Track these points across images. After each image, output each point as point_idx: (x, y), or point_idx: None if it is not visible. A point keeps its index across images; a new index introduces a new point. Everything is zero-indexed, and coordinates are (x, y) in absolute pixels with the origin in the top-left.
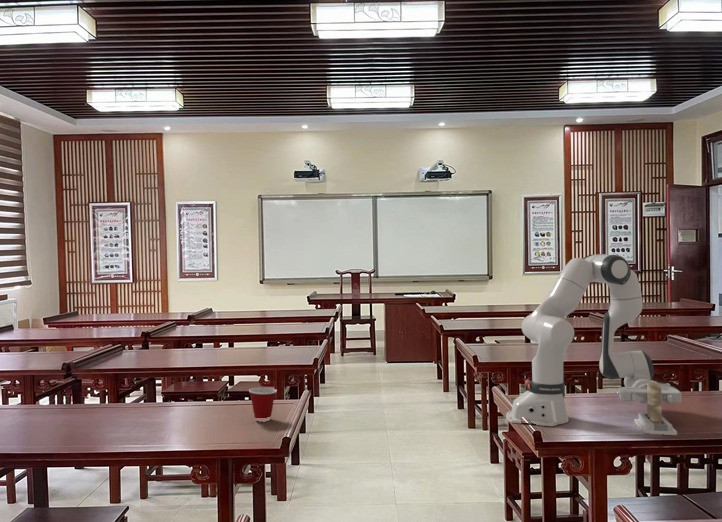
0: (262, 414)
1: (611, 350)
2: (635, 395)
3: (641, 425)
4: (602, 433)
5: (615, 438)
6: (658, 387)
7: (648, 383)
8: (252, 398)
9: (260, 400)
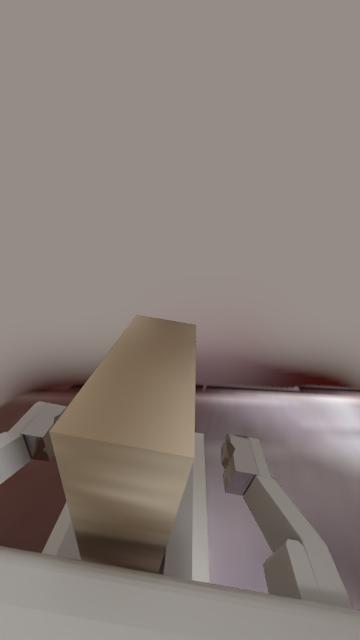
0: None
1: None
2: (285, 496)
3: (202, 505)
4: (322, 447)
5: (277, 405)
6: (152, 320)
7: (184, 414)
8: None
9: None
